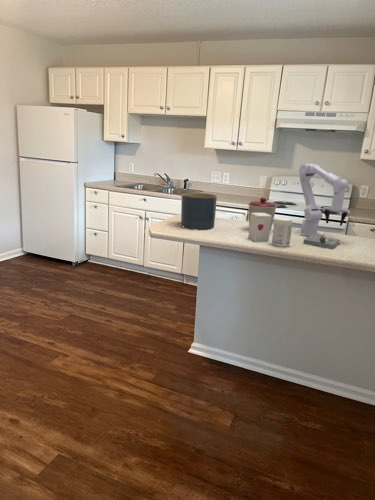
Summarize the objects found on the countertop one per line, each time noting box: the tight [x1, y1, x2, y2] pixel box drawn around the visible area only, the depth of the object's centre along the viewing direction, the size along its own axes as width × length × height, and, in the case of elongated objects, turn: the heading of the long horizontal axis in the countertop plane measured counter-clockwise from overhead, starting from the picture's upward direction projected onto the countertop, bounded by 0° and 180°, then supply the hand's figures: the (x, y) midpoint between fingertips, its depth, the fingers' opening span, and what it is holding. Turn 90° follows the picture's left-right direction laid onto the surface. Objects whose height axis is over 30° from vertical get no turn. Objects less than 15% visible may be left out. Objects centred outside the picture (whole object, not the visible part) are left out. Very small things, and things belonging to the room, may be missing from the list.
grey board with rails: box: [302, 235, 341, 250], centre depth 209 cm, size 16×15×3 cm
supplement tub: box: [271, 216, 293, 248], centre depth 201 cm, size 10×10×15 cm
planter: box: [180, 192, 218, 231], centre depth 236 cm, size 22×22×20 cm
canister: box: [247, 197, 278, 230], centre depth 232 cm, size 18×18×21 cm
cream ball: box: [318, 231, 325, 237], centre depth 214 cm, size 3×3×3 cm
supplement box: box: [247, 213, 272, 242], centre depth 210 cm, size 9×9×15 cm
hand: (334, 224), depth 213 cm, fingers open, 7 cm apart
